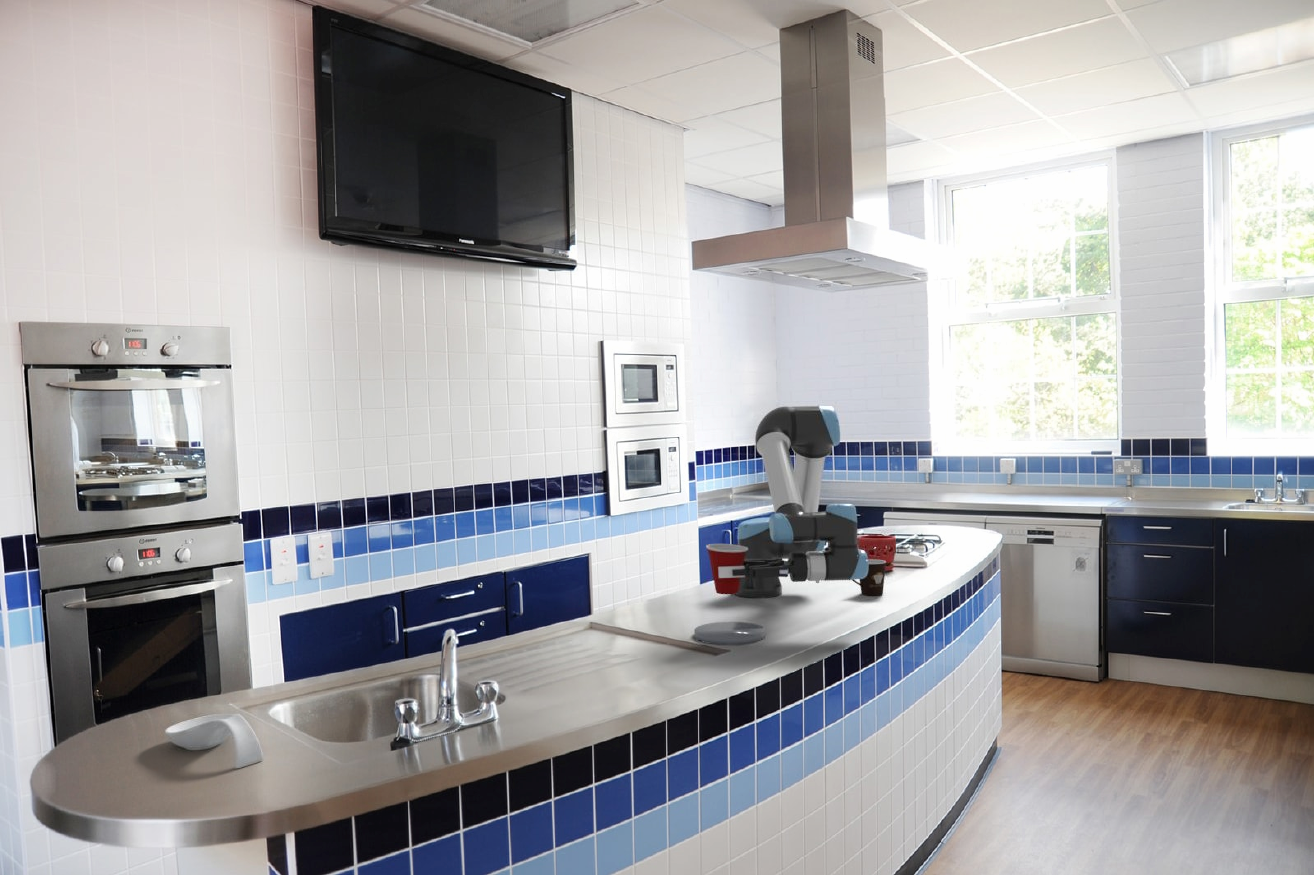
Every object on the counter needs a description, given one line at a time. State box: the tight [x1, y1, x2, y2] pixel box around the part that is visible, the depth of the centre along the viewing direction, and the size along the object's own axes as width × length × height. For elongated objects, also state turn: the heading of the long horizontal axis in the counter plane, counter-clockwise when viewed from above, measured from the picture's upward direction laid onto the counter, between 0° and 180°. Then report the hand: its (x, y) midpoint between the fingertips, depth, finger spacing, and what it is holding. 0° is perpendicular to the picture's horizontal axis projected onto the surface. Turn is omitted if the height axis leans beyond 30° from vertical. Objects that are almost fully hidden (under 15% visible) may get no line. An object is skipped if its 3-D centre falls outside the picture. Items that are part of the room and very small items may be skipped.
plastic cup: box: [705, 543, 748, 595], centre depth 228 cm, size 11×11×12 cm
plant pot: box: [857, 534, 897, 572], centre depth 317 cm, size 13×13×12 cm
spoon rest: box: [164, 713, 264, 769], centre depth 157 cm, size 24×12×7 cm, turn 51°
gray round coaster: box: [693, 621, 766, 645], centre depth 228 cm, size 18×18×2 cm
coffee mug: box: [851, 559, 886, 597], centre depth 276 cm, size 12×9×10 cm
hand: (717, 569), depth 228 cm, fingers closed on plastic cup, 8 cm apart
